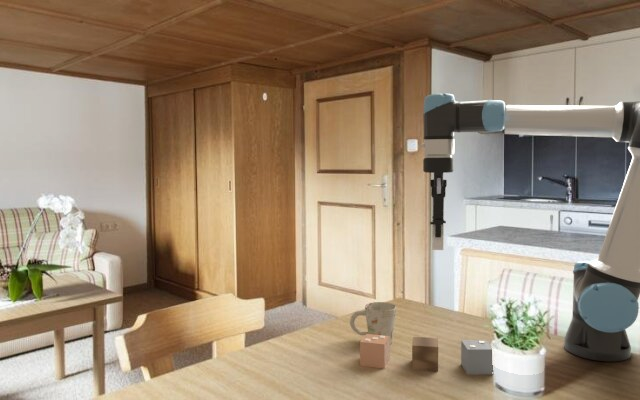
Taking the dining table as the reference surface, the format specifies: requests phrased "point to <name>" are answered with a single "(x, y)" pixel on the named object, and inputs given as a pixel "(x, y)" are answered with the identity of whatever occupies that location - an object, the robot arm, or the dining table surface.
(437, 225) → the robot arm
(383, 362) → the terracotta block
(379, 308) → the mug
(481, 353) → the slate block
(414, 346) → the walnut block
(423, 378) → the dining table surface
